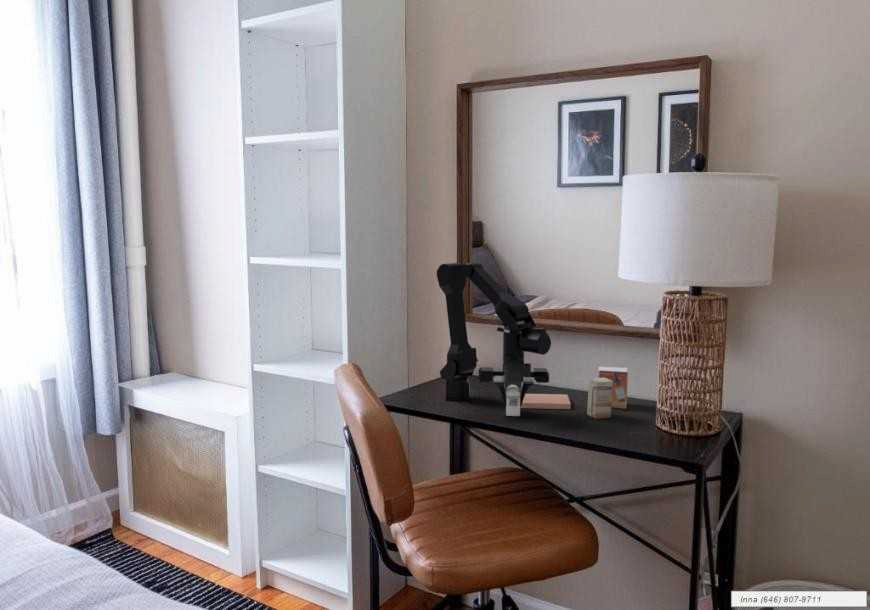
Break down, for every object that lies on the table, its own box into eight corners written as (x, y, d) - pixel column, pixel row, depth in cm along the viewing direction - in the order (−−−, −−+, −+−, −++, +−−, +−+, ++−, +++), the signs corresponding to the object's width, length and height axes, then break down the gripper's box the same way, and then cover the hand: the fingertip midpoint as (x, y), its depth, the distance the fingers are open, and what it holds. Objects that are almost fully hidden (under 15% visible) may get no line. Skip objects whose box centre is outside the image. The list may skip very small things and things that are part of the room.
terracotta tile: (512, 407, 200) (512, 402, 200) (511, 398, 210) (511, 393, 210) (570, 409, 199) (570, 403, 199) (567, 399, 209) (567, 394, 209)
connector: (506, 417, 192) (506, 390, 191) (506, 410, 198) (506, 384, 197) (520, 417, 192) (520, 390, 191) (519, 410, 198) (519, 384, 197)
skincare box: (595, 419, 190) (596, 382, 188) (586, 414, 194) (587, 378, 192) (612, 417, 191) (613, 380, 190) (603, 412, 195) (604, 376, 194)
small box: (597, 407, 201) (598, 370, 200) (597, 401, 207) (598, 365, 205) (626, 408, 199) (628, 371, 198) (626, 403, 205) (627, 367, 203)
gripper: (478, 354, 186) (477, 413, 188) (551, 356, 184) (550, 415, 186) (479, 346, 197) (478, 402, 199) (548, 347, 195) (546, 403, 197)
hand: (513, 405), depth 195 cm, fingers closed on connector, 4 cm apart
